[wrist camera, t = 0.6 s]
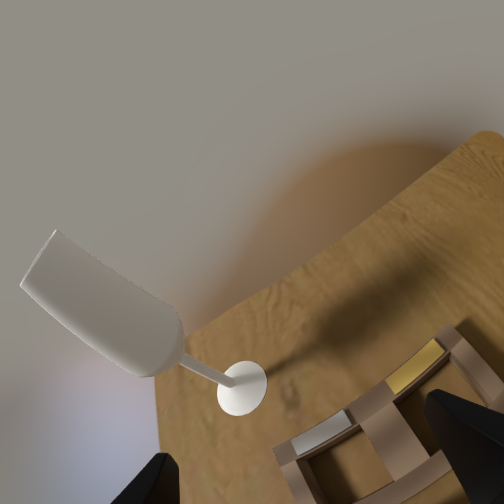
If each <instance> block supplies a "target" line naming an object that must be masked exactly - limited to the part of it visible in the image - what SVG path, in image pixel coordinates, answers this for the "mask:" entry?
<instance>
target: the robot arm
mask: <svg viewBox="0 0 504 504" xmlns="http://www.w3.org/2000/svg"><path fill="white" fill-rule="evenodd" d="M424 413H425V415H426V418H427V420H428V422H429V424H430V427H431V429H432V431H433V433H434V436H435V438H436V440H437V443H438V445H439V446H440V448H441V450H442V452H443V453H444V455H445V457H446V458H447V460H448V462H449V464H450V465H451V467H452V469H453V471H454V473H455V474H456V476H457V478H458V480H459V482H460V483H461V485H462V487H463V489H464V491H465V493H466V495H467V496H468V498H469V500H470V502H471V504H504V414H503V413H500V412H497V411H494V410H492V409H489V408H486V407H484V406H481V405H478V404H476V403H473V402H470V401H468V400H465V399H463V398H460V397H458V396H455V395H453V394H450V393H448V392H445V391H443V390H440V389H435V390H433V391H431V392H429V393H428V394H427V397H426V401H425V405H424ZM111 504H180V490H179V467H178V465H177V463H176V462H175V461H174V459H173V458H172V457H171V455H170V454H169V453H157V454H156V455H155V456H154V457H153V458H152V459H151V460H150V461H149V463H148V464H147V465H146V466H145V467H144V468H143V469H142V470H141V471H140V472H139V474H138V475H137V476H136V477H135V478H134V479H133V480H132V481H131V482H130V483H129V485H128V486H127V487H126V488H125V489H124V490H123V491H122V492H121V493H120V494H119V495H118V496H117V497H116V498H115V499H114V500H113V501H112V503H111Z"/></svg>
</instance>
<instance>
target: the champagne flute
mask: <svg viewBox="0 0 504 504" xmlns="http://www.w3.org/2000/svg"><path fill="white" fill-rule="evenodd" d="M20 287H22V289H24V290H25V291H26V292H27V293H28V294H29V295H30V296H31V297H32V298H33V299H34V300H35V301H36V302H37V303H38V304H39V305H40V306H41V307H43V308H44V309H45V310H46V311H47V312H48V313H49V314H51V315H52V316H53V317H54V318H55V319H56V320H58V321H59V322H60V323H61V324H62V325H63V326H65V327H66V328H67V329H69V330H70V331H71V332H72V333H73V334H75V335H76V336H77V337H79V338H80V339H81V340H82V341H84V342H85V343H86V344H88V345H89V346H90V347H92V348H93V349H95V350H96V351H97V352H99V353H101V354H102V355H103V356H104V357H106V358H107V359H109V360H110V361H112V362H113V363H115V364H116V365H118V366H119V367H121V368H122V369H124V370H125V371H127V372H129V373H130V374H132V375H133V376H137V377H152V376H156V375H160V374H162V373H165V372H166V371H168V370H169V369H171V368H172V367H174V366H175V365H177V364H180V365H182V366H184V367H186V368H188V369H190V370H192V371H194V372H196V373H198V374H200V375H202V376H204V377H206V378H208V379H210V380H212V381H214V382H217V383H219V385H218V390H217V397H218V401H219V404H220V406H221V408H222V409H223V410H224V411H225V412H227V413H228V414H231V415H235V416H240V415H245V414H248V413H250V412H251V411H253V410H254V409H255V408H257V406H258V405H259V404H260V403H261V401H262V400H263V398H264V396H265V393H266V388H267V378H266V375H265V372H264V370H263V369H262V368H261V366H259V365H258V364H257V363H254V362H251V361H242V362H239V363H236V364H234V365H233V366H231V367H230V368H229V369H228V370H227V371H226V372H225V373H224V374H223V373H221V372H219V371H217V370H215V369H214V368H212V367H210V366H208V365H206V364H204V363H202V362H201V361H199V360H197V359H195V358H193V357H192V356H190V355H188V354H186V353H184V342H185V334H184V329H183V325H182V322H181V320H180V318H179V315H178V313H177V312H176V311H175V310H174V308H173V307H172V306H170V305H169V304H167V303H165V302H164V301H162V300H160V299H158V298H157V297H155V296H154V295H152V294H150V293H149V292H147V291H145V290H144V289H142V288H141V287H139V286H137V285H136V284H134V283H133V282H131V281H129V280H128V279H126V278H125V277H123V276H122V275H120V274H119V273H117V272H116V271H114V270H113V269H111V268H110V267H108V266H107V265H105V264H104V263H102V262H101V261H99V260H98V259H97V258H95V257H94V256H92V255H91V254H89V253H88V252H87V251H85V250H84V249H82V248H81V247H80V246H78V245H77V244H75V243H74V242H73V241H71V240H70V239H69V238H67V237H66V236H65V235H63V234H62V233H60V232H59V231H58V230H55V231H54V232H53V234H52V235H51V236H50V237H49V239H48V240H47V241H46V243H45V244H44V246H43V247H42V249H41V250H40V251H39V253H38V255H37V256H36V258H35V259H34V261H33V262H32V264H31V266H30V267H29V269H28V271H27V272H26V274H25V276H24V278H23V280H22V282H21V284H20Z"/></svg>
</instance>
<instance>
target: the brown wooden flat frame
mask: <svg viewBox="0 0 504 504" xmlns="http://www.w3.org/2000/svg"><path fill="white" fill-rule="evenodd" d="M448 360H450V362H451V363H452V364H453V365H454V366H455V367H456V369H457V370H458V371H459V372H460V373H461V375H462V376H463V377H464V378H465V379H466V381H467V382H468V383H469V384H470V386H471V387H472V388H473V389H474V390H475V392H476V393H477V394H478V395H479V397H480V398H481V399H482V401H483V402H484V403H485V404H486V406H487V407H486V408H489V409H492V410H494V411H497V412H500V413H503V414H504V383H503V382H502V381H501V379H500V378H499V377H498V376H497V375H496V373H495V372H494V371H493V370H492V369H491V368H490V366H489V365H488V364H487V363H486V362H485V361H484V360H483V358H482V357H481V356H480V355H479V354H478V353H477V352H476V351H475V350H474V348H473V347H472V346H471V345H470V344H469V343H468V342H467V341H466V340H465V339H464V338H463V337H462V336H461V335H460V334H459V332H458V331H457V330H456V329H455V328H454V327H453V326H452V325H451V324H450V323H449V322H448V323H447V324H446V325H445V326H444V327H443V328H442V329H441V330H440V331H439V332H438V333H437V334H436V335H435V336H434V337H433V338H432V339H431V340H430V341H429V342H427V343H426V344H425V345H424V346H423V347H422V348H421V349H420V350H419V351H418V352H416V353H415V354H414V355H413V356H412V357H411V358H410V359H408V360H407V361H406V362H405V363H404V364H402V365H401V366H400V367H399V368H398V369H396V370H395V371H394V372H393V373H391V374H390V375H389V376H388V377H386V378H385V379H384V380H383V381H381V382H380V383H379V384H377V385H376V386H375V387H373V388H372V389H370V390H369V391H368V392H366V393H365V394H364V395H362V396H361V397H359V398H358V399H356V400H355V401H353V402H352V403H351V404H349V405H348V406H346V407H345V408H343V409H341V410H340V411H338V412H337V413H335V414H334V415H332V416H330V417H329V418H327V419H326V420H324V421H322V422H321V423H319V424H317V425H315V426H314V427H312V428H310V429H308V430H307V431H305V432H303V433H301V434H299V435H298V436H296V437H294V438H292V439H290V440H288V441H286V442H284V443H282V444H280V445H278V446H276V447H274V448H272V449H273V452H274V454H275V456H276V459H277V461H278V463H279V465H280V468H281V470H282V472H283V475H284V477H285V479H286V481H287V483H288V486H289V488H290V490H291V492H292V494H293V497H294V499H295V501H296V503H297V504H329V502H328V500H327V499H326V497H325V495H324V493H323V491H322V489H321V487H320V485H319V483H318V481H317V479H316V477H315V475H314V473H313V471H312V469H311V467H310V465H309V463H308V461H307V460H308V459H310V458H312V457H314V456H316V455H318V454H320V453H322V452H324V451H326V450H327V449H329V448H331V447H333V446H335V445H336V444H338V443H340V442H342V441H343V440H345V439H347V438H348V437H350V436H352V435H353V434H355V433H356V432H358V431H360V430H361V429H363V430H364V432H365V433H366V435H367V437H368V438H369V440H370V442H371V443H372V445H373V447H374V448H375V450H376V451H377V453H378V455H379V456H380V458H381V460H382V461H383V463H384V465H385V466H386V468H387V470H388V471H389V473H390V474H391V476H392V478H393V479H394V481H392V482H391V483H389V484H387V485H385V486H384V487H382V488H380V489H378V490H377V491H375V492H373V493H371V494H369V495H367V496H365V497H363V498H361V499H359V500H357V501H355V502H353V503H351V504H400V503H401V502H403V501H405V500H407V499H408V498H410V497H412V496H413V495H415V494H416V493H418V492H419V491H421V490H423V489H424V488H426V487H427V486H429V485H430V484H431V483H433V482H434V481H436V480H437V479H439V478H440V477H441V476H443V475H444V474H445V473H447V472H448V471H449V470H451V469H452V467H451V465H450V464H449V462H448V460H447V458H446V457H445V455H444V453H443V452H442V450H441V448H440V449H439V450H437V451H436V452H435V453H434V454H432V455H431V456H429V455H428V453H427V452H426V450H425V449H424V447H423V446H422V444H421V443H420V441H419V440H418V438H417V437H416V435H415V434H414V432H413V431H412V429H411V428H410V426H409V425H408V423H407V422H406V421H405V419H404V418H403V416H402V415H401V413H400V412H399V410H398V409H397V408H396V405H397V404H398V403H399V402H401V401H402V400H403V399H405V398H406V397H407V396H408V395H410V394H411V393H412V392H413V391H415V390H416V389H417V388H418V387H419V386H421V385H422V384H423V383H424V382H425V381H426V380H427V379H429V378H430V377H431V376H432V375H433V374H434V373H435V372H436V371H438V370H439V369H440V368H441V367H442V366H443V365H444V364H445V363H446V362H447V361H448Z"/></svg>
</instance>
